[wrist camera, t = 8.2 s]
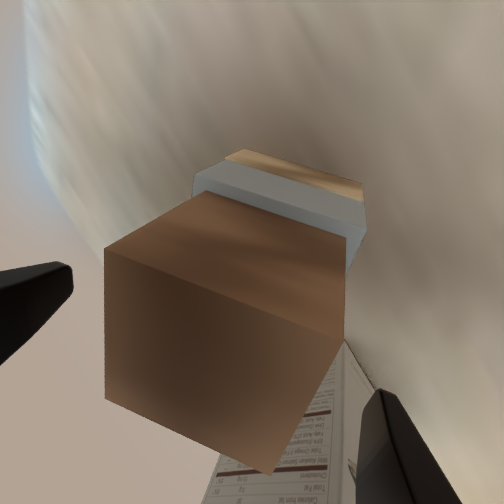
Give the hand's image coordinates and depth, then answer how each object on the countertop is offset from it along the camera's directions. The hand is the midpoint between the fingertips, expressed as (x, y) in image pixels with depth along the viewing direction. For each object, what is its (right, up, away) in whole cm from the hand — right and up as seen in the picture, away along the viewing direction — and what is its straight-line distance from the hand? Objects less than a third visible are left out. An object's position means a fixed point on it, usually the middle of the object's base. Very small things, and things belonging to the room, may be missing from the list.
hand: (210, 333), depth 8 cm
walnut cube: (+1, +1, +3) cm, 4 cm away
